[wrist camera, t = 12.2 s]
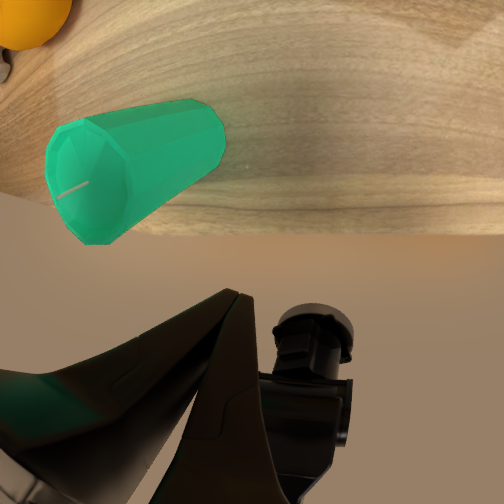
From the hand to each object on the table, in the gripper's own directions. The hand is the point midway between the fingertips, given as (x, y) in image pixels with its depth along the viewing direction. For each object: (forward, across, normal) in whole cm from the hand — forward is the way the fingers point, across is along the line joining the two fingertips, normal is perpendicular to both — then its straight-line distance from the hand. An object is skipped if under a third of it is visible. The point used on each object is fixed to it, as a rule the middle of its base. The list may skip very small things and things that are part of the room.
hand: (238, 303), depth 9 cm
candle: (+13, +8, -1) cm, 16 cm away
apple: (+13, +25, -12) cm, 31 cm away
